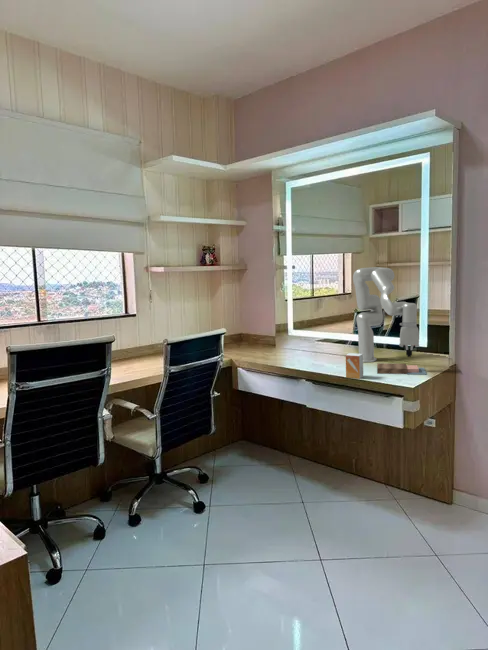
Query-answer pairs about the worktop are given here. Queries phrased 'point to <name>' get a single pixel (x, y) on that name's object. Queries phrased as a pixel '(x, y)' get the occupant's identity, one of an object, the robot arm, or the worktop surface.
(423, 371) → the mat
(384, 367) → the platform
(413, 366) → the tile
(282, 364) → the worktop surface
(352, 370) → the small box
